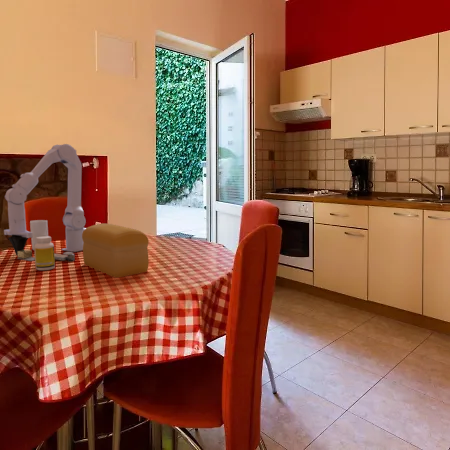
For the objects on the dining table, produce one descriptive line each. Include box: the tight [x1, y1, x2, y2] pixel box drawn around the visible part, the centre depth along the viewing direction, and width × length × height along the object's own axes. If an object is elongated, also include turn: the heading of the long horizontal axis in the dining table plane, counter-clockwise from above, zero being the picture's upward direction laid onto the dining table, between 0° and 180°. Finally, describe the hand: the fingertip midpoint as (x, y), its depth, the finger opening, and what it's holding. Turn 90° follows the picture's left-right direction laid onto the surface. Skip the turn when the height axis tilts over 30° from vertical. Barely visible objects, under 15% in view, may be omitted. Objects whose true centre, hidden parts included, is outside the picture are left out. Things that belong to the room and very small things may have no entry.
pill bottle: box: [33, 235, 56, 271], centre depth 136 cm, size 6×6×11 cm
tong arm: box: [33, 251, 74, 262], centre depth 151 cm, size 3×17×3 cm, turn 64°
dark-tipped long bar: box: [54, 252, 76, 263], centre depth 153 cm, size 3×18×2 cm, turn 61°
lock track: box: [17, 256, 35, 262], centre depth 151 cm, size 4×8×1 cm, turn 62°
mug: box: [29, 219, 49, 251], centre depth 171 cm, size 10×7×12 cm, turn 4°
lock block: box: [17, 248, 33, 258], centre depth 152 cm, size 4×4×2 cm
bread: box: [82, 223, 149, 278], centre depth 138 cm, size 24×13×15 cm, turn 44°
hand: (19, 254), depth 154 cm, fingers closed
